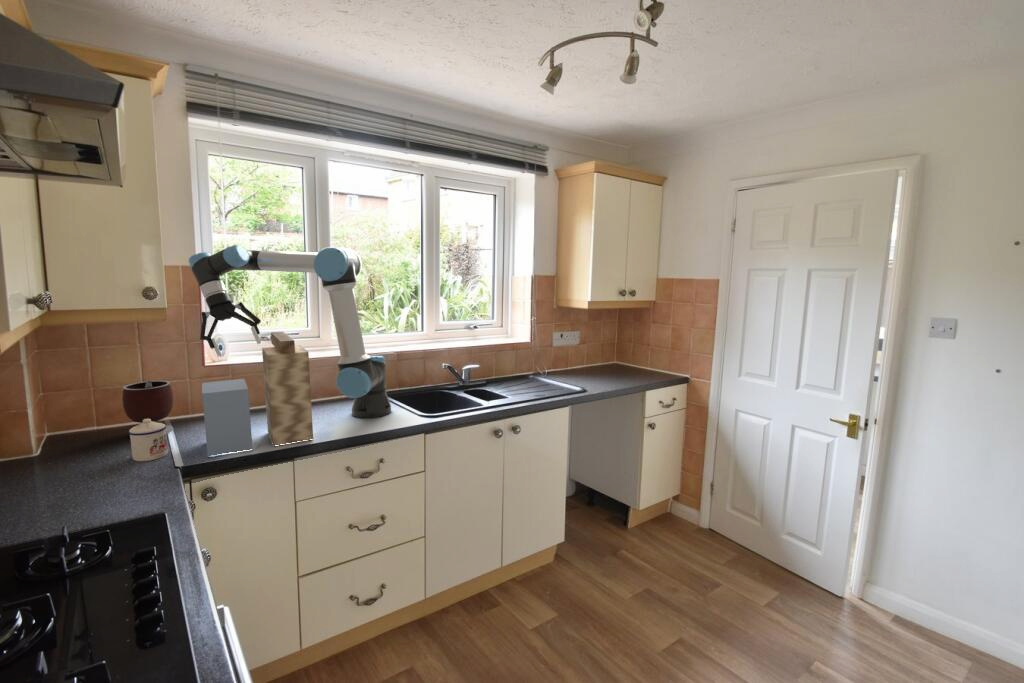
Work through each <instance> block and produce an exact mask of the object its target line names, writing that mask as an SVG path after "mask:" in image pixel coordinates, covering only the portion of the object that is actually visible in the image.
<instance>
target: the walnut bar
mask: <svg viewBox="0 0 1024 683" xmlns="http://www.w3.org/2000/svg"><path fill="white" fill-rule="evenodd" d="M270 341H271V344H272V346H273V347H275V348H276V349H277V350H278V351H279V352H280V353H281V354H287V353H295V346H296V344H295V339H293V338H292V337H291V336H289V335H288V334H287V333H286V332H285V331H273V332H272V331H271V332H270Z"/></svg>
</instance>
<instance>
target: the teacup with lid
mask: <svg viewBox="0 0 1024 683" xmlns="http://www.w3.org/2000/svg"><path fill="white" fill-rule="evenodd" d="M166 426H167V425H166V424H164V423H162V422H153V421H151V419H144V420H143V423H139V424H137V425H135V426H133V427H131V428H130V429H129V431H128V434H129V438H130V446H131V447H130V448H131V455H132V460H133V461H135V462H150V461H155V460H158V459H161V458H163V457H165V456H166V455H168V453H169V452H168V441H167V437H168V434H167V430H166Z"/></svg>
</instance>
